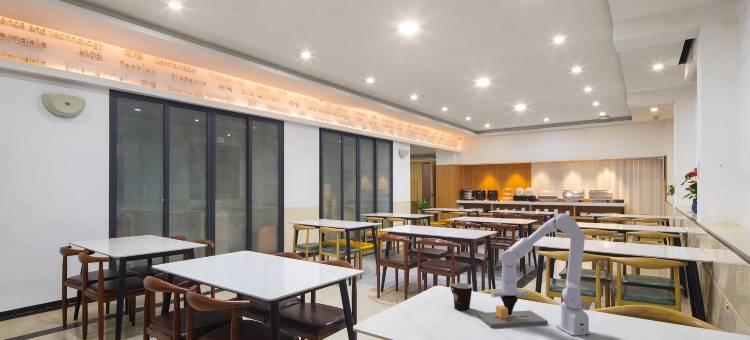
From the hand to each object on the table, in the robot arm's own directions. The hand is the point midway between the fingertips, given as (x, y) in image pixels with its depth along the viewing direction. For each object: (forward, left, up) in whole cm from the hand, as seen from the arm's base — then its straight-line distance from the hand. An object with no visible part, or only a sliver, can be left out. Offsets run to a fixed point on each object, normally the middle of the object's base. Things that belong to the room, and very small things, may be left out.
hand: (508, 314), depth 156 cm
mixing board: (0, -1, -3) cm, 3 cm away
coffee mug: (+18, +13, -3) cm, 22 cm away
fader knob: (0, +3, -1) cm, 3 cm away
